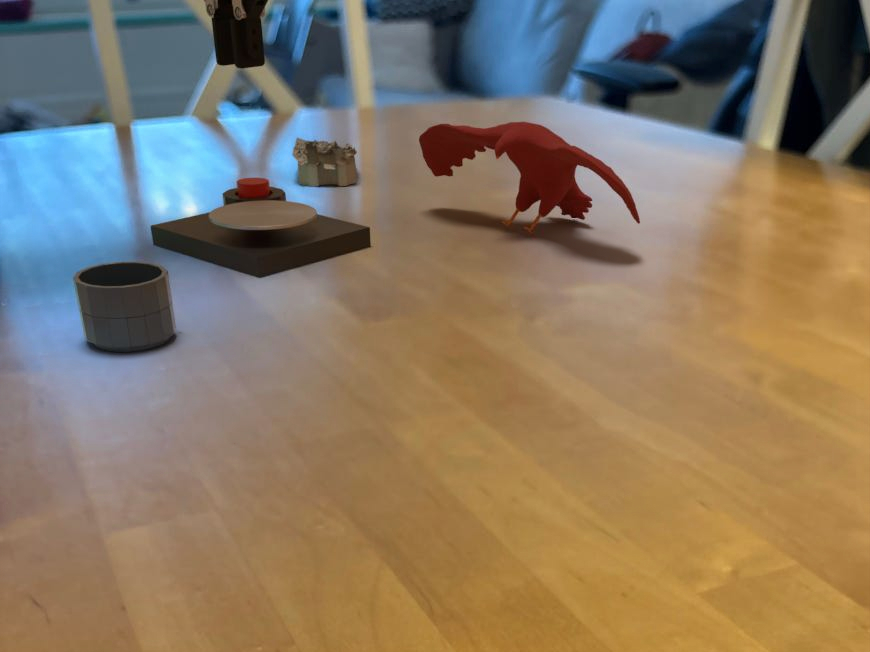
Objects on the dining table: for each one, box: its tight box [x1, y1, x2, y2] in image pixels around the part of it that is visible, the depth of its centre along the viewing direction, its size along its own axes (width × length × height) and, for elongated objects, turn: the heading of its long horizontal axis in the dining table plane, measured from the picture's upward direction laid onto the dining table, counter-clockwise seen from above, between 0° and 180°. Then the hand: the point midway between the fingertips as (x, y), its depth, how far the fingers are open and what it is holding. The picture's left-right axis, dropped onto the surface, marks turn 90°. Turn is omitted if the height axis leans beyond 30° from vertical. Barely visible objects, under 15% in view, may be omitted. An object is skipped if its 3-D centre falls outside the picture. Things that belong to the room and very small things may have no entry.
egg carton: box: [291, 137, 358, 188], centre depth 133 cm, size 11×8×4 cm
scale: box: [149, 186, 372, 279], centre depth 108 cm, size 17×14×4 cm
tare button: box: [236, 177, 271, 198], centre depth 112 cm, size 3×3×2 cm
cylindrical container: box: [72, 260, 177, 353], centre depth 85 cm, size 7×7×5 cm
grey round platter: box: [208, 200, 318, 230], centre depth 104 cm, size 10×10×1 cm
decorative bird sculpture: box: [418, 121, 641, 237], centre depth 112 cm, size 28×9×15 cm
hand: (240, 63), depth 105 cm, fingers closed
